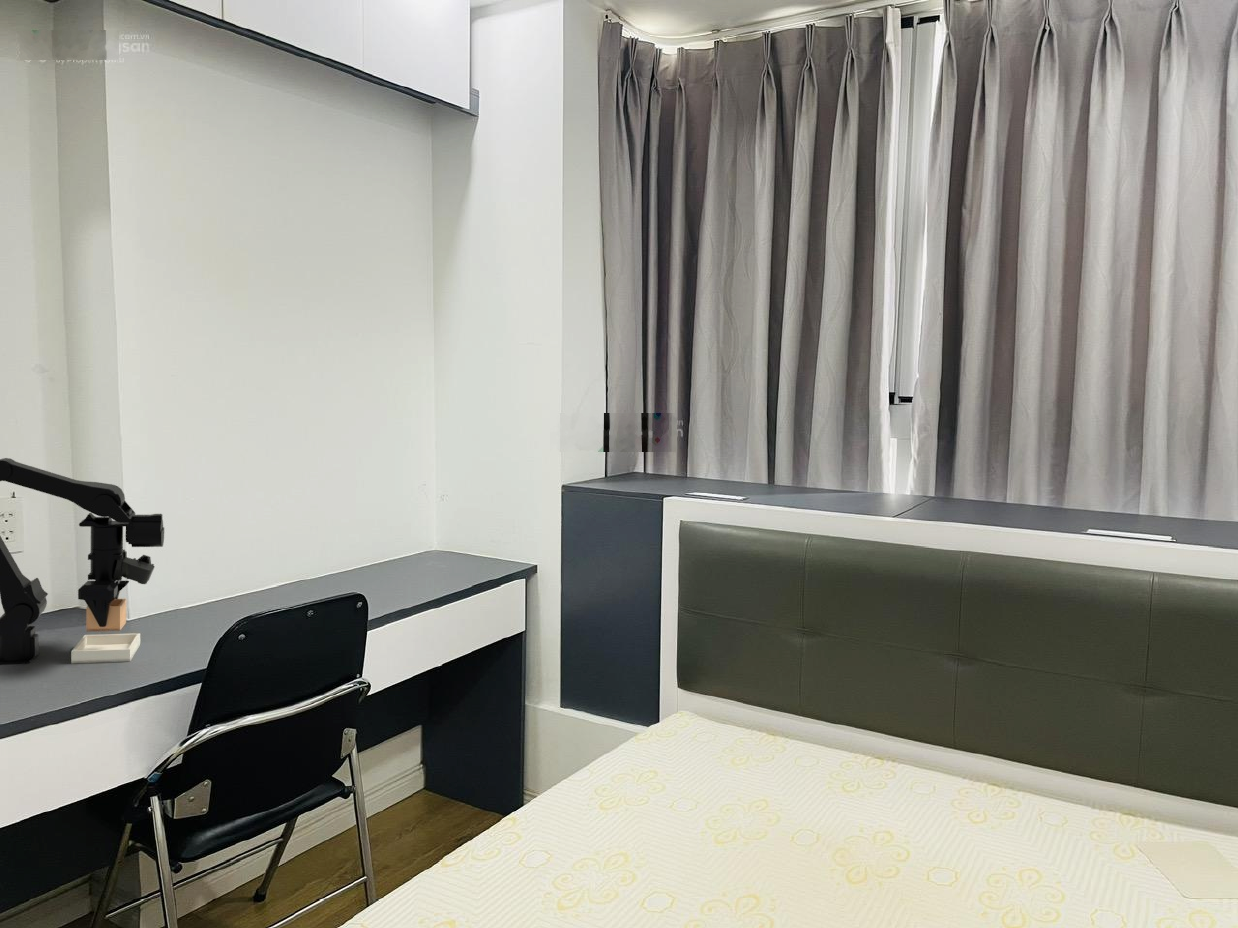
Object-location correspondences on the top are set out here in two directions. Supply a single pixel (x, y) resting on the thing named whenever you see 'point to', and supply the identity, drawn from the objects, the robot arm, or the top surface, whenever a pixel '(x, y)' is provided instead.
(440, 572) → the top surface
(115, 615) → the small crate
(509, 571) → the top surface
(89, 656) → the cream square tray
